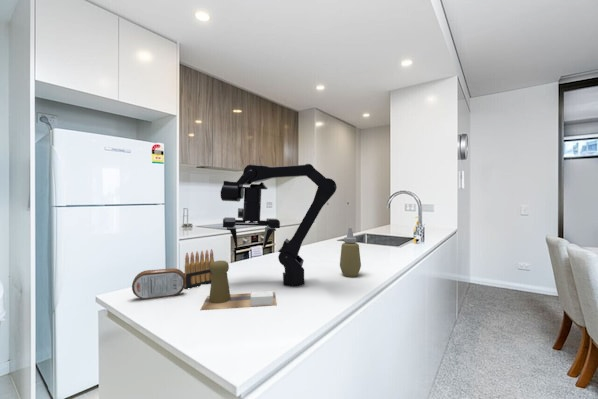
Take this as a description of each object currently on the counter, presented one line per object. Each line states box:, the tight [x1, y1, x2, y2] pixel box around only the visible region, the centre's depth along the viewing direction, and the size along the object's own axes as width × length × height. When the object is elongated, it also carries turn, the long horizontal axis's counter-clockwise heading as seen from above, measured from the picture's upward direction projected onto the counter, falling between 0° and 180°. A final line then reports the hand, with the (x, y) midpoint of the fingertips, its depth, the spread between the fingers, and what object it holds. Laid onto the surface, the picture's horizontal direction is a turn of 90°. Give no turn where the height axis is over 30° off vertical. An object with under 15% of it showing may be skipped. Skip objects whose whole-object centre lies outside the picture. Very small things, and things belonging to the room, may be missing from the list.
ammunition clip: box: [183, 249, 215, 290], centre depth 100 cm, size 11×2×12 cm, turn 133°
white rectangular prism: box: [250, 290, 274, 307], centre depth 80 cm, size 6×4×2 cm, turn 98°
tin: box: [131, 267, 186, 300], centre depth 89 cm, size 15×3×8 cm, turn 110°
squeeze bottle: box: [339, 227, 362, 278], centre depth 110 cm, size 8×8×18 cm
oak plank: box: [199, 291, 278, 311], centre depth 82 cm, size 20×11×1 cm, turn 98°
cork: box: [208, 260, 231, 303], centre depth 82 cm, size 6×6×11 cm
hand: (250, 248), depth 98 cm, fingers open, 9 cm apart
